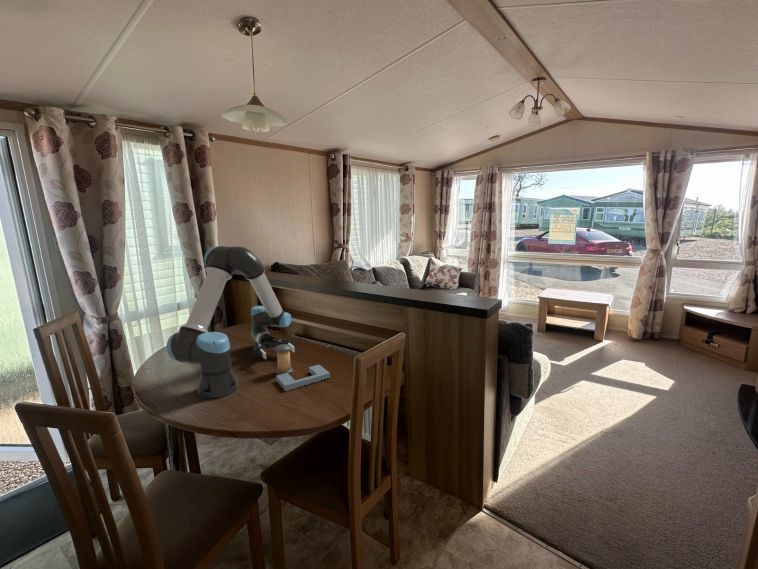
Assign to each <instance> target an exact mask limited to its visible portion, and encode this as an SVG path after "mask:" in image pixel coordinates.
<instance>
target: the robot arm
mask: <svg viewBox="0 0 758 569" xmlns="http://www.w3.org/2000/svg"><path fill="white" fill-rule="evenodd" d="M203 264H204V266H205V268H204V270H205V272H206V276H205V278H204V281H203V283H202V285H201V287H200V289H199V292H198V295H197V297H196V300H195V302H194V304H193V306H192V309H191V311H190V314H189V316H188V319H187V321H186V323H185V324H183V325H180V327H179V330H178V332H175V333H173V334H172V335H170V336H169V338H168V339H167V342H166V347H165V348H166V352H167V355H168V357H169V358H170V359H171V360H173V361H175V362H179V363H187V364H192V365H199V371H200V377H199V381H198V385H197V396H199V397H200V398H203V399H218V398H222V397H225V396H228V395H230V394H232V393H234V392H235V391H236V390H238V388H239V381H238V378H237V377H236V374H235V372H234V370H233V366H232V356H231V353H232V352H231V343H230V340H229V337H228V335H227V334H225V333H223V332H220V331H219V332H218V331H208V328H209V327H210V324H211V321H212V319H213V316H214V314H215V311H216V308H217V307H218V306H217V305H218V303H219V301H220V299H221V296H222V293H223V291H224V289H225V285H226V283H227V281H229V280H231V279H232V278H233V275H234V273H240V274H242V275H243V276H244V278H245V280H247V281H249V283H250V285H251V287H252V288H253V290H254V293H256V296H257V297H258V299H259V301H260V303H261V304H262V305H256V306H253V307H251V309H250V318H251V326H252V327H251V330H250V336H251V338H252V339H253V341H255V342H256V343H254V345H255V346H254V347H253V349H252V354H253V356H256V355H257V357H262V358H263V360H267V352H265V351H267V350H270V349H272V348H275V347H276V346H278V345H281V344H289V345H291V350H290V351H291V352H292V353H295V352H296V351H295V350H296V349H295V341H294V340H291V339H290V340H289V339H287V338H284V337H283V338H282V337H280V338H279V339H276V338H275V337H274V336H273V335H272V334H271V333H270V332H268V326H271V327H276V328H277V327H279V328H287V327H289V326H290V324H291V322H292V316H291V314H290V313H289V312H286V311H284V310H283V308H282V306H281V304H280V302H279V299H278V298H277V296H276V293H275V292H274V290H273V288H272V286H271V284H270V282H269V279H268V278H267V276H266V274H265V272H266V269H265V266H264V264H263V263H262V261H261V260H260V258H258V256H257V255H256V254H255V253H254V252H252V250H250V249H248V248H246V247H244V246H225V245H218V246H217V245H216V246H213V247H210V248H209V249H208V250H207V251H206V252H205V254H204V256H203Z"/></svg>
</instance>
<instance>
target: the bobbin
mask: <svg viewBox="0 0 758 569" xmlns="http://www.w3.org/2000/svg"><path fill="white" fill-rule="evenodd" d="M290 351H291V345H289V344H281V345H278V346H276V347H274V352H275V353H276V358H277V359H276V360H277V368H276V370H275V372H276V376H277V375H281V374H285V373H288V374H289V375H291V374H292V373H293V371H294V370H293V367H292V366H291V352H290ZM290 373H291V374H290Z"/></svg>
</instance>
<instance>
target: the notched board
mask: <svg viewBox="0 0 758 569" xmlns="http://www.w3.org/2000/svg"><path fill="white" fill-rule="evenodd" d="M309 372H310V373H309ZM308 373H309V374H311V376H306V377H303V378H302V377H301V378H300V379H296V380H295V379H294V378H293V377H292V375H291V374H288V373H285V374H281V375H277V374H276V375H275V376H276V377H275V378H276V382H277V383H278V385H279V386H280V387H281V388H282V389H283V390H284V392H289V391H291V390H295V389H298V387H299V388H301V386H302V387H304V385H306V386H309V385H312V384H311V383H313V384H315V383H314V382H316V383H319V382H322V381H321V380H323V381H325V380H324V379H326V380H328V379H327V378H330V379H331V372H330V371H328V370H327V369H325V368H324V367H323V366H322V365H321V364H315V365H312V366H309V367H308ZM312 374H313V375H312ZM318 381H319V382H318ZM308 384H309V385H308Z"/></svg>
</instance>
